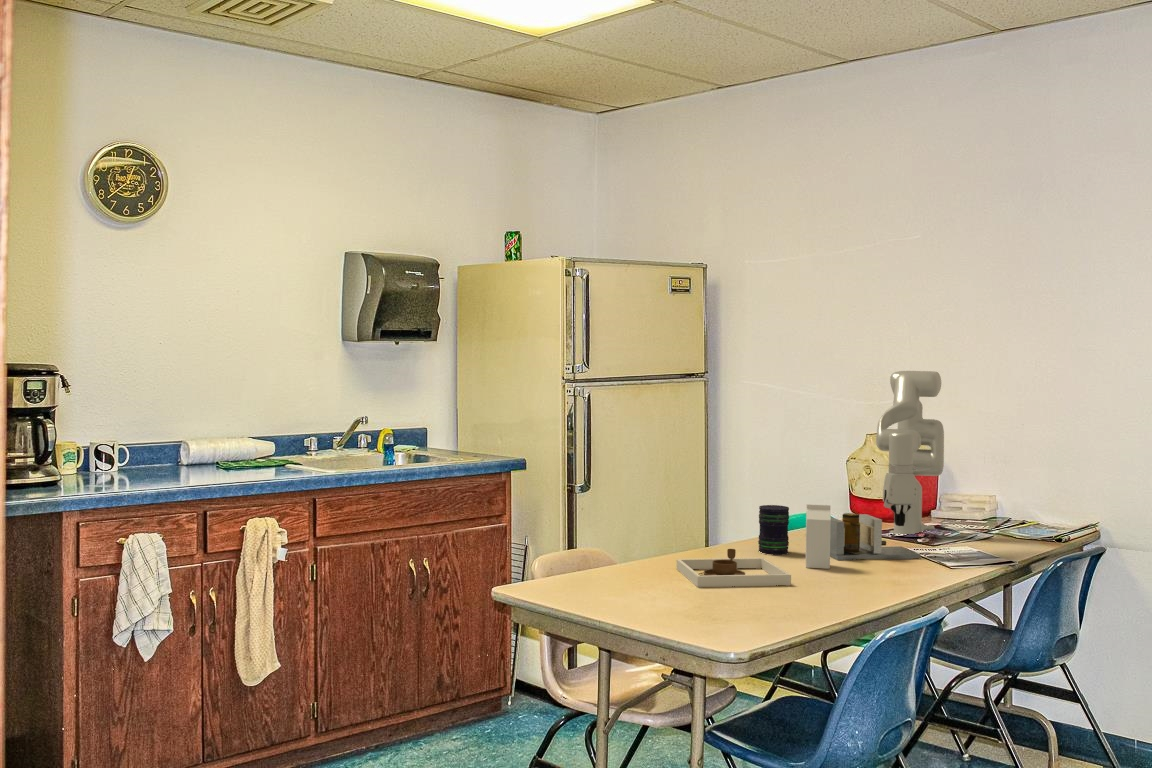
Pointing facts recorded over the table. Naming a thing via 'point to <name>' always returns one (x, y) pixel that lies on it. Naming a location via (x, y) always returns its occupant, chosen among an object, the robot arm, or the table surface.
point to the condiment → (852, 533)
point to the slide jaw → (871, 533)
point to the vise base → (838, 548)
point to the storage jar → (773, 529)
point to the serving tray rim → (771, 579)
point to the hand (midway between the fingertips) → (899, 525)
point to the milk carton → (818, 536)
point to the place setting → (724, 566)
